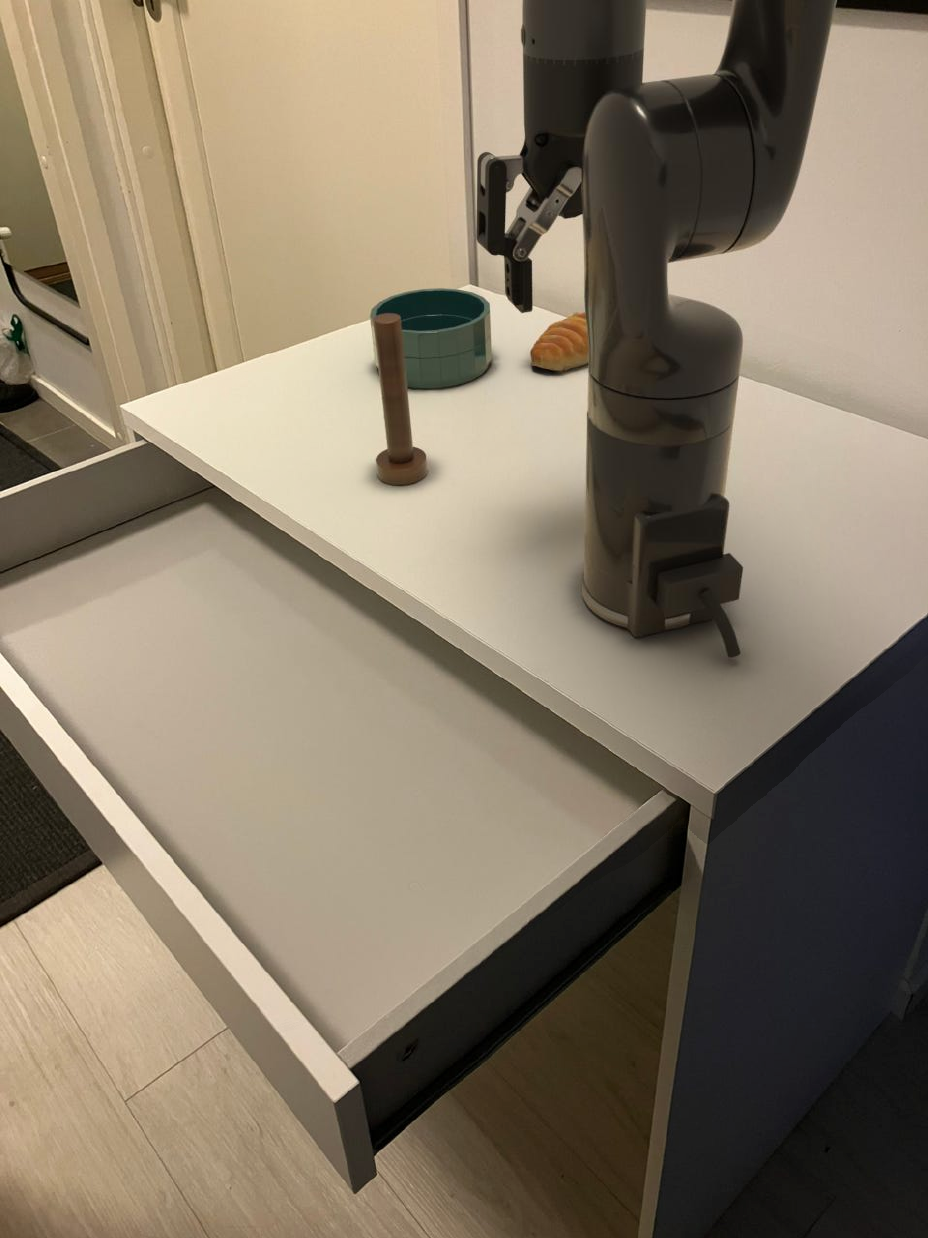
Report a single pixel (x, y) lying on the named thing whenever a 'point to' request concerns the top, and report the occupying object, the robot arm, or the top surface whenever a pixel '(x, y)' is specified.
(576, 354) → the pastry
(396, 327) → the stick
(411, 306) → the bowl
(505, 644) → the top surface
